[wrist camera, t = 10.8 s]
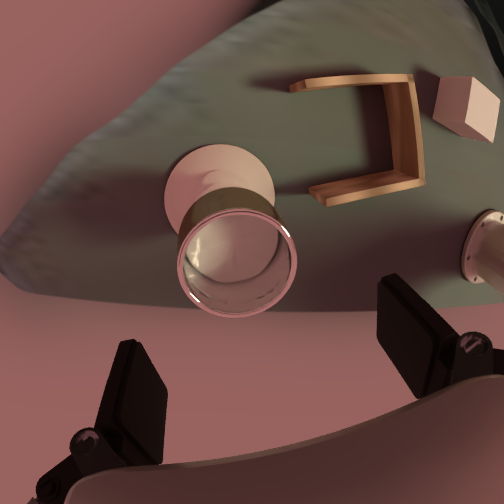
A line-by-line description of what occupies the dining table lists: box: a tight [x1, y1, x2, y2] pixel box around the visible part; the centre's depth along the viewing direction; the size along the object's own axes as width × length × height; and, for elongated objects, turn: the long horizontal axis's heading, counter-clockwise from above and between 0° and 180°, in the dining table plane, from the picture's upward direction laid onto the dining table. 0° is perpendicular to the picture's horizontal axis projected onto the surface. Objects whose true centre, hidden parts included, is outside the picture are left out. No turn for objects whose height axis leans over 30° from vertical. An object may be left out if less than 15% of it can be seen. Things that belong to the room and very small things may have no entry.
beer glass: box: [177, 170, 297, 318], centre depth 23 cm, size 7×7×15 cm
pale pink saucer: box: [164, 144, 275, 234], centre depth 30 cm, size 11×11×1 cm
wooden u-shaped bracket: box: [289, 74, 425, 207], centre depth 27 cm, size 12×12×5 cm
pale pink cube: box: [432, 76, 500, 143], centre depth 27 cm, size 6×6×6 cm
